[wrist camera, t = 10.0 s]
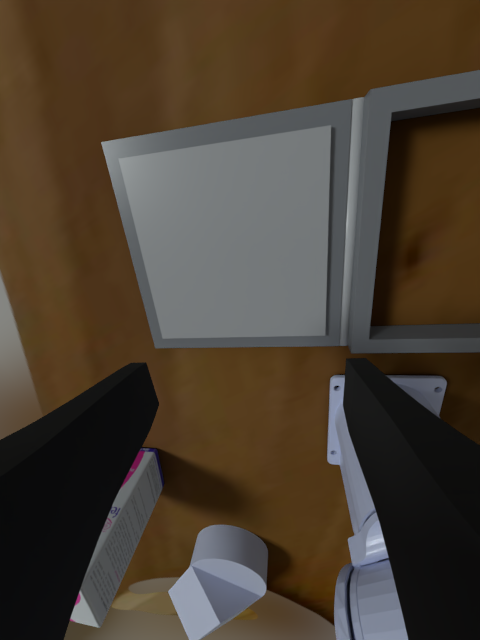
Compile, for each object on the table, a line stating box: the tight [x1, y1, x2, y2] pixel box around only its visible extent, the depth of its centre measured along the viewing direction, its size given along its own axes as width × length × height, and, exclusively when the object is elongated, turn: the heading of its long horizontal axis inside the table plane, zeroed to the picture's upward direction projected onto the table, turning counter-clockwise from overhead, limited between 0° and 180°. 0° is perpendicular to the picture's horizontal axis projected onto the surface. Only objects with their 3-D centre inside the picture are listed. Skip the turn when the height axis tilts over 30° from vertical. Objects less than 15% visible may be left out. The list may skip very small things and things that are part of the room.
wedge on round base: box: [168, 525, 268, 640], centre depth 31 cm, size 9×7×13 cm
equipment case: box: [101, 70, 480, 353], centre depth 16 cm, size 14×29×2 cm, turn 96°
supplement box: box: [70, 448, 164, 628], centre depth 24 cm, size 6×6×12 cm
